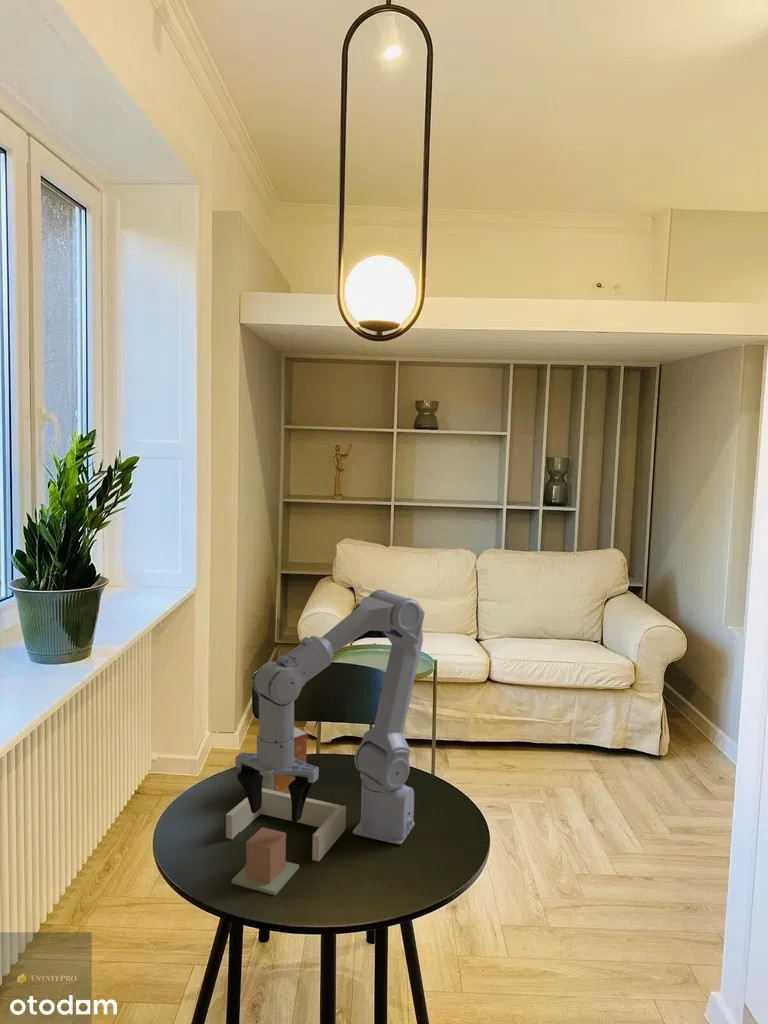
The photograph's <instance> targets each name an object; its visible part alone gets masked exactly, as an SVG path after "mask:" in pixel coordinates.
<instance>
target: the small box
mask: <svg viewBox="0 0 768 1024" xmlns="http://www.w3.org/2000/svg"><path fill="white" fill-rule="evenodd" d="M307 742H308V733H307V732H305V731H303V730H301V729H299V728H297V727H296V726H294V758H296V759H298V760H301V761H303V762H305V763H307V749H308V747H307ZM256 753H259V733H257V734H256ZM294 780H295V777H291V776H286V775H271V776H264V775H263V781H262V788H264V789H269V790H273V791H278V792H282V793H287V794H290V791H289V788H288V785H289V784H290V783H291V782H292V781H294Z"/></svg>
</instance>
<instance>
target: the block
mask: <svg viewBox="0 0 768 1024" xmlns="http://www.w3.org/2000/svg"><path fill="white" fill-rule="evenodd" d="M286 839H287V833H286V832H283V831H280V830H276V829H271V828H267V827H261V828H260V829H259V830H257V832H255V834H253V835H252V836H251V837H250V838H249V839H248V840H247V841H245V866H246V877H247V878H250V879H254V880H258V881H261V882H265V883H268V884H271V882H272V881H273V880H274V879H275V878H276V877H277V876H278V875H279V874H280V873H281V872H282V871H283V870H284V868H285V867H286V862H287V861H286V860H287V859H286V858H287V857H286V853H287V851H286V849H287V845H286V843H287V840H286Z"/></svg>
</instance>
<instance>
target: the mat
mask: <svg viewBox="0 0 768 1024" xmlns="http://www.w3.org/2000/svg"><path fill="white" fill-rule="evenodd" d="M299 869H300V864H298V863H294V862H289V861H286V867H285V868H284V870H283V871H282V872H281V873H280V874H279V875H278V876H277V877H276V878H275V879H274V880H273V881H272V882H271V884H268V883H265V882H261V881H258V880H254V879H250V878H247V877H246V865H244V867H243V868H242V869H241V870H240V871H239V872H238V873H237V874H236V875H235V876H234V877H233V878H232V879H231V884H233V885H237V886H241V887H243V888H247V889H251V890H254V891H258V892H262V893H266V894H268V895H273V896H276V895H277V894H279V892H280V891H281V890H282V888H283V887H284V886H285V885H286V884H287V883H288V881H289V880H290V879H291V878H292V877H293V875H295V873H296V872H297V871H298V870H299Z"/></svg>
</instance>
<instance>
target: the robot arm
mask: <svg viewBox="0 0 768 1024" xmlns="http://www.w3.org/2000/svg"><path fill="white" fill-rule="evenodd" d="M425 614H426V613H425V611H424V609H423V608H422V607H421V605H420V604H419V602H418V601H417V600H416V599H414V598H411V597H404V596H401V595H399V594H395V593H391V592H389V591H386V590H384V589H376V590H374V591H372V592H371V593H370V594H369V595H367V596H365V597H363V598H362V599H361V600H360V604H359V605H358V606H357V607H356V609H353V611H352V612H351V613H349V614H348V615H347V616H346V617H345V618H343V619H342V620H341V621H339V622H338V623H337V624H336V625H334V626H333V627H332V628H331V629H330V630H329V631H327V632H326V633H325V634H324V635H323V636H321V637H320V636H315V635H312V636H310V637H307V636H304V638H302V639H301V640H300V644H298V645H297V646H296V647H294V648H292V649H291V650H290V651H289V652H287V653H286V654H282V655H280V656H279V657H277V661H268V662H266V663H264V664H263V665H261V666H259V668H258V670H257V672H256V673H255V677H254V679H252V680H251V685H252V688H253V689H254V691H255V692H256V693H257V695H258V734H259V753H257V752H256V753H253V752H252V753H251V752H250V753H249V752H245V751H243V752H242V751H241V752H239V754H237V755H236V756H235V768H236V769H240V772H238V773H237V781H238V782H239V784H241V786H242V788H243V790H244V792H245V794H246V798H248V801H249V804H250V808H251V812H252V813H256V812H257V811H258V810H259V809H260V808H261V804H262V781H263V775H264V776H271V775H286V776H291V777H295V780H294V781H292V782H291V783H290V784H289V785H288V788H289V791H290V796H291V803H292V821H291V822H292V823H298V822H297V821H298V820H299V819H300V818H301V817H302V811H303V807H304V803H305V800H306V798H308V795H309V792H310V790H311V787H313V784H314V783H315V782H316V781H317V780H318V779H319V776H320V775H319V771H320V769H319V768H320V767H319V766H315V765H312V764H309V763H307V762H306V763H305V762H303V761H301V760H298V759H296V758H294V727H295V701H296V700H297V699H298V697H299V695H300V694H301V691H302V688H303V687H304V686H305V685H306V683H307V682H309V681H310V680H312V678H314V677H315V676H317V675H318V674H320V673H321V672H322V671H323V670H324V669H326V668H327V667H329V666H331V664H332V662H333V657H334V654H336V652H338V651H340V650H341V649H342V648H344V647H346V646H347V645H349V644H351V643H352V642H353V641H355V640H357V639H358V638H359V637H361V636H363V635H364V634H366V633H368V632H369V631H374V632H375V631H376V632H383V633H384V634H385V636H386V638H387V639H388V640H389V642H390V644H391V646H390V652H389V655H388V656H389V657H388V660H387V666H386V668H385V669H386V670H385V675H384V679H383V684H382V688H381V692H380V696H379V697H380V698H379V700H378V701H379V702H378V705H377V706H378V707H377V711H376V715H375V720H374V723H373V724H374V725H373V727H372V728H370V729H368V730H367V731H365V732H364V733H363V734H362V735H363V736H362V740H361V741H360V742H361V743H360V744H359V746H358V747H357V749H356V751H355V753H354V765H355V768H356V770H358V771H359V772H360V773H359V774H360V775H359V777H360V779H361V799H360V800H361V803H360V807H361V808H360V822H359V823H358V824H357V825H356V826H355V827H354V829H353V830H352V834H353V835H356V836H360V837H364V838H369V839H373V840H376V841H377V840H378V841H382V842H386V843H390V844H395V845H402V844H403V843H404V841H405V840H406V838H407V837H408V835H409V834H410V832H411V830H412V829H413V827H414V826H415V820H414V816H415V813H414V811H415V792H414V788H413V787H411V786H409V785H406V784H405V783H406V782H407V780H408V778H409V775H410V772H411V771H410V770H411V765H410V759H409V758H410V753H411V749H410V746H409V744H408V742H407V741H406V738H405V736H404V729H405V724H406V719H407V716H408V711H409V706H410V702H411V698H412V692H413V686H414V682H415V679H416V675H417V670H418V665H419V661H420V657H421V652H422V646H423V643H424V642H423V641H424V637H423V623H424V617H425Z"/></svg>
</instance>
